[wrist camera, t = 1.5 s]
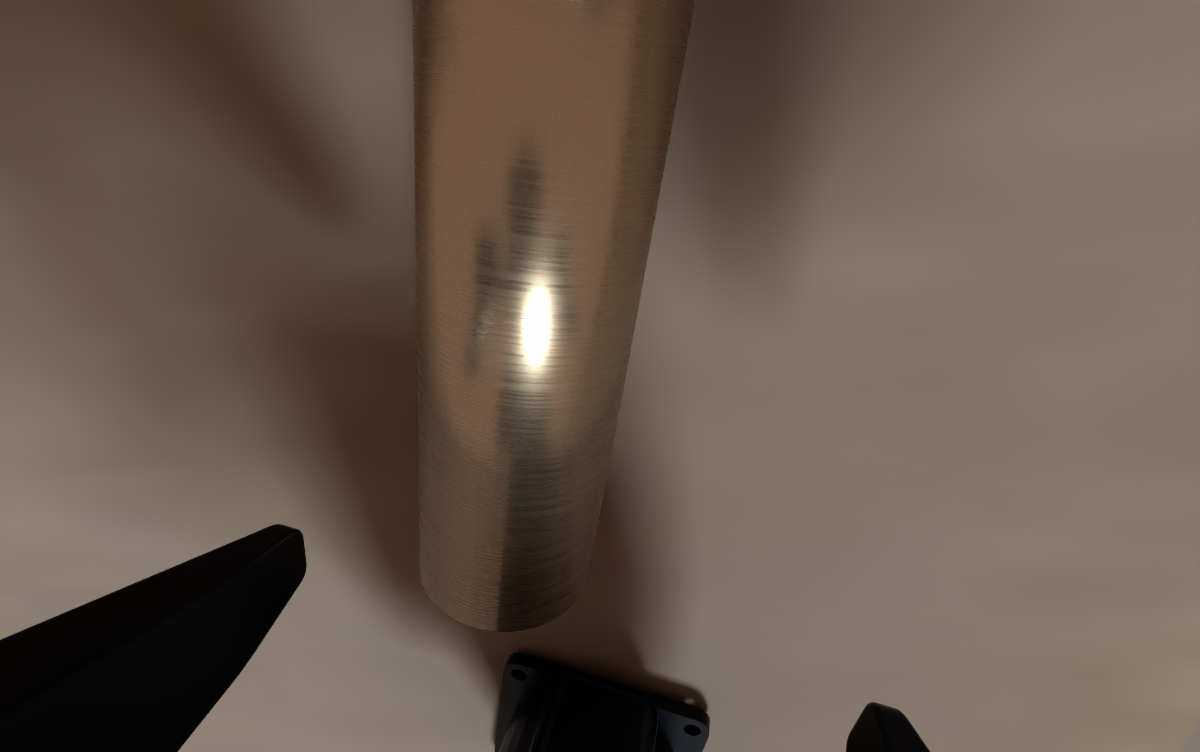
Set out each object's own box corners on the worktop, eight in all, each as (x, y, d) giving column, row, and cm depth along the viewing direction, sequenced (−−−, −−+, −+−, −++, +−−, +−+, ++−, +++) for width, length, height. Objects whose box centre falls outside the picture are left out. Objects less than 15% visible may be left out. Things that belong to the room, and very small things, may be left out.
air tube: (616, 618, 12) (416, 652, 11) (569, 493, 16) (413, 507, 14) (897, -605, 5) (389, -974, 4) (692, -333, 8) (395, -465, 7)
